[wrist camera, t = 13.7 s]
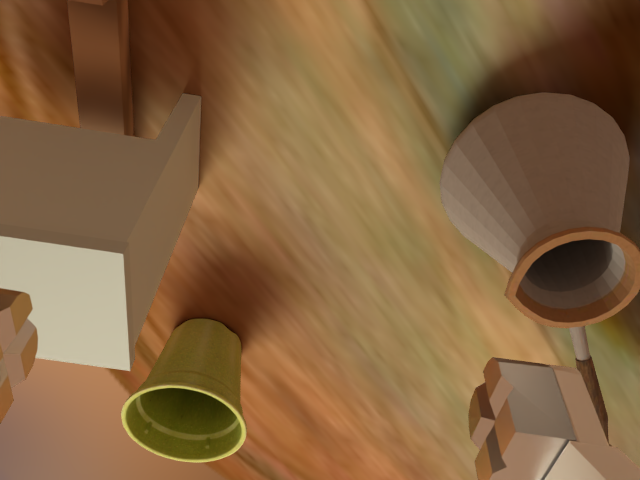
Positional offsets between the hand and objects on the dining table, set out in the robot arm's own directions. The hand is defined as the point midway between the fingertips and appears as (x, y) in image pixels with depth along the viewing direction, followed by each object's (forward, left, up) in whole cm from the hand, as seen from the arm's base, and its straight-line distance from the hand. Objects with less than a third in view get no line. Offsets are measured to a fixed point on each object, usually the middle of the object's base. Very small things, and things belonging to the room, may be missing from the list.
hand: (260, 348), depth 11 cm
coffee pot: (0, +22, -29) cm, 37 cm away
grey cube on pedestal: (+18, -2, -29) cm, 34 cm away
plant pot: (+28, +16, -29) cm, 44 cm away
